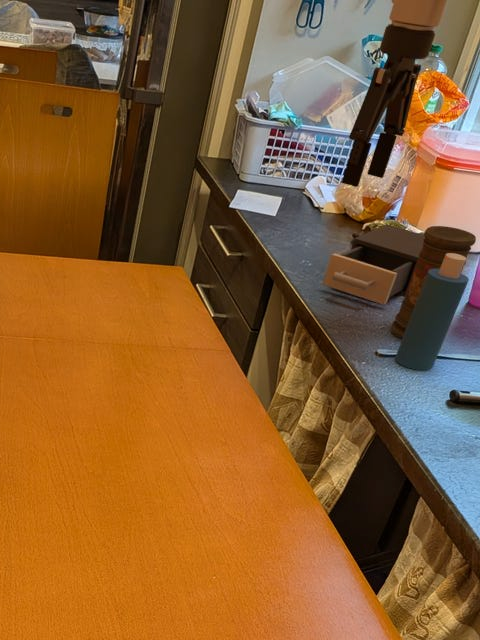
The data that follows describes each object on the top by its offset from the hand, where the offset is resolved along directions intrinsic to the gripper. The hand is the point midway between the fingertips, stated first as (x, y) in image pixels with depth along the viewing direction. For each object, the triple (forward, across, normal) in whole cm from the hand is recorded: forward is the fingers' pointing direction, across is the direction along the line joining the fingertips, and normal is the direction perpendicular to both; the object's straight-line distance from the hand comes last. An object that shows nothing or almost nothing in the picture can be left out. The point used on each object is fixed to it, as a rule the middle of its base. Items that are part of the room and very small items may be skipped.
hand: (362, 180), depth 159 cm
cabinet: (+24, -34, 0) cm, 41 cm away
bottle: (+24, +6, +21) cm, 32 cm away
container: (+24, -7, +16) cm, 30 cm away
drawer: (+23, -20, 0) cm, 30 cm away
